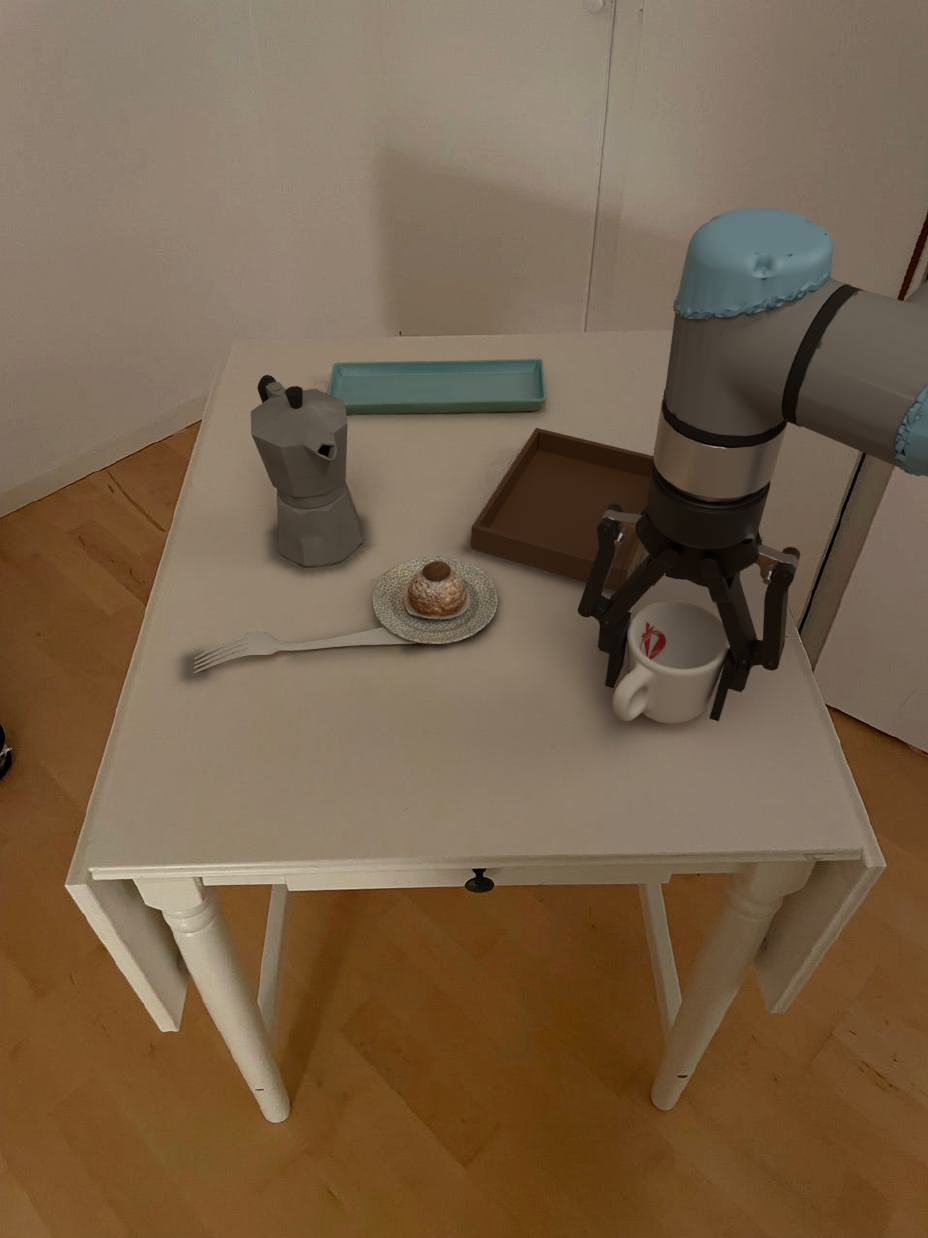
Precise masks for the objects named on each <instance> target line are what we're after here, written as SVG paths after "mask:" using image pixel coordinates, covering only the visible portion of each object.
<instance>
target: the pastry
mask: <svg viewBox="0 0 928 1238" xmlns="http://www.w3.org/2000/svg"><path fill="white" fill-rule="evenodd" d="M371 600H372V601H371V602H372V603H371V604H372V608H373V611H374V614H375V617H376V618H377V620H378V622H380V624H382V627H385V628H386V629H388V630H389V631H391V632H392V633H394V634H396V635H398V636H400V637H402V638H405V639H406V640H407V641H409V642H413V641H414V642H418V644H430V645H441V644H442V645H443V644H450V643H454V642H460V641H463V640H465V639H467V638H470V637H472V636H474V635H476V634H477V633H478V632H480V631H481V630H482V629H484V628H485V627H486V626H487V625H489V623H490V622H491V621H492V619H493V618H494V616H495V614H496V612H497V609H498V603H499V601H498V600H499V598H498V592H497V589H496V586H495V585H494V583H493V581H492V579H491V578H490V577H489V575H488V574H487V573H486V572H484V571H483V570H482V569H481V568H479V567H477V566H476V565H474V564H472V563H469V562H466V561H464V560H462V559H458V558H454V557H446V556H440V555H439V556H438V555H432V556H431V555H430V556H421V557H417V558H413V559H410V560H408V561H405V562H402V563H398V564H397V565H395V566H394V567H393V568H391V569H390V570H389V571H387V572H385V573H384V574H383V575H382V576H381V577H380V579H378V580H377V583H376V584H375V586H374V588H373V592H372V599H371Z"/></svg>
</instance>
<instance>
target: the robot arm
mask: <svg viewBox="0 0 928 1238" xmlns="http://www.w3.org/2000/svg"><path fill="white" fill-rule="evenodd" d="M834 247H835V245H834V242H833V239H832V236H831V234H830V232H828V230H827V229H826V228H825V227H824V226H822V225H821V224H817V223H812V219H809V217H808V216H806V215H803V214H800V213H797V212H794V211H790V210H785V209H778V208H769V207H749V208H747V207H746V208H740V209H733V210H729V211H726V212H722V213H720V214H718V215H715V216H713V217H712V218H711V219H710V220H709V221H708V222H705V223H703V224H701V225H700V226H699V227H698V228H696V231H695V232H694V233H693V235H692V236H691V238H690V241H689V242H688V246H687V249H686V255H685V260H684V263H683V267H682V268H683V269H682V274H681V278H680V283H679V287H678V290H677V295H676V296H675V299H674V300H673V307H672V308H673V312H674V320H673V327H672V335H671V343H670V350H669V357H668V364H667V373H666V381H665V388H664V390H663V397H662V400H661V403H660V409H659V417H658V424H657V428H656V436H655V443H654V449H653V456H654V463H653V465H652V470H651V477H650V483H649V490H648V496H647V503H646V508H645V509H644V510H643V511H642V512H641V514H631V513H623V508H622V507H621V506H620V505H618V504H615V503H613V504H610V505H609V506H608V507H607V509H606V511H605V513H604V515H603V517H602V519H601V521H600V523H599V524H598V526H597V536H598V544H599V549H598V552H597V555H596V558H595V561H594V564H593V566H592V569H591V572H590V575H589V578H588V581H587V582H586V583H585V587H584V589H583V592H582V595H581V598H580V601H579V603H578V606H577V613H578V615H579V616H580V617H582V618H586V619H587V618H591V617H592V618H594V619H595V620H596V621H597V622H598V624H599V630H598V639H597V649H598V651H599V652H602V653H606V654H608V660H607V668H606V674H605V682H604V687H606V688H609V689H613V690H614V689H615V687H616V684H617V682H618V680H619V677H620V675H621V673H622V669H623V668H624V666H625V665H624V664H625V658H626V652H627V630H628V626H629V623H630V621H631V620H632V611H631V612H630V610H632V608H633V607H634V606H635V605H636V604H637V603H638V602H639V601H640V599H642V597H643V596H644V595H645V594H646V593H647V592H648V591H649V590H650V589H651V587H654V586H656V584H657V583H658V582H659V581H660V580H661V579H662V578H663V577H666V578H670V579H674V580H683V581H688V582H690V583H692V584H695V585H696V586H700V587H702V588H703V587H704V588H707V590H708V593H709V596H710V600H711V603H715V605H716V607H717V611H718V614H719V618H720V619H721V620H722V623H723V627H724V630H725V633H726V636H727V639H728V642H729V645H730V648H729V651H728V654H727V657H726V660H725V663H724V666H723V668H722V671H721V673H720V677H719V681H718V684H717V689H716V692H715V695H714V700H713V703H712V704H713V705H712V707H711V710H710V715H709V720H712V721H716V722H719V721H720V719H721V716H722V712H723V709H724V706H725V702H726V699H727V696H728V692H729V690H731V691H734V692H737V693H742V692H743V691H744V690H745V688H746V685H747V683H748V679H749V676H750V673H751V671H752V670H751V669H752V668H753V667H756V666H761V667H762V668H764V669H765V670H767V671H772V672H773V671H776V670H778V668H779V665H780V662H781V659H782V655H783V652H784V648H785V644H786V631H787V617H788V603H789V601H788V600H789V589H790V586H791V585H792V583H793V582H794V579H795V576H796V572H797V570H798V565H799V562H800V559H801V558H800V557H801V552H800V550H799V549H798V548H796V547H794V546H787V547H785V548H783V549H782V550H781V551H780V550H777V549H774V548H772V547H770V546H767V545H765V544H763V540H762V536H761V534H760V525H761V522H762V518H763V514H764V510H765V506H766V503H767V499H768V496H769V492H770V488H771V481H772V478H773V475H774V473H775V469H776V466H777V462H778V458H779V455H780V452H781V447H782V444H783V441H784V437H785V433H786V430H787V426H788V423H790V424H792V425H794V426H796V427H798V428H799V427H800V428H801V427H802V428H804V429H807V430H810V431H812V432H814V433H816V434H819V435H820V436H821V435H822V436H824V437H826V438H829V439H831V440H834V441H835V442H838V443H840V444H842V445H844V446H847V447H850V448H852V449H855V450H857V451H859V452H862V453H863V454H866V455H869V456H871V457H873V458H875V459H877V460H880V461H882V462H885V463H887V464H889V465H892V466H895V467H897V468H898V469H900V470H901V471H903V472H904V473H905V474H907V475H914V476H916V477H920V476H924V477H927V478H928V278H927V279H926V280H925V281H924V282H922V284H921V285H920V286H918V288H916V289H915V291H913V292H912V293H911V294H910V295H909V296H908V297H907V298H906V299H905V300H904V301H903V300H900V299H896V298H893V297H890V296H887V295H884V294H880V293H876V292H873V291H870V290H866V289H862V288H859V287H856V286H853V285H851V284H850V283H847V282H843V281H840V280H838V279H837V280H836V279H835V278H833V277H831V276H832V274H833V268H834V264H833V257H834V250H835V248H834ZM633 533H636V534H637V536H638V538H639V539H640V541H641V542H642V544H643V545H644V547H645V548H644V550H646V552H647V553H648V554H647V555H646V556H645V557H644V558H643V560H642V561H641V562H640V563H639V565H638V566H636V568H635V570H634V572H633V573H632V574H631V575H630V576H629V577H628V579H627V580H626V581H625V582H624V583H623V584H622V585H621V587H620V588H619V589H618V590H617V591H616V590H615V592H614V593H611V595H610V597H609V598H608V597H607V596H604V595H603V592H604V589H605V588H606V587H605V584H606V582H607V579H608V576H609V574H610V571H611V568H612V566H613V563H614V560H615V558H616V555H617V552H618V550H619V547H620V545H621V544H622V543H625V542H627V541H628V539H629V537H630V535H631V534H633ZM754 564H756V565H757V566H758V567H759V569H760V573H759V575H760V577H761V579H762V583H763V584H764V585H766V586H767V588H766V591H765V593H764V601H763V603H764V604H763V620H762V621H763V623H762V639H760V640H759V639H758V635H757V632H756V629H755V625H754V621H753V619H752V615H751V612H750V609H749V605H748V602H747V601H748V600H747V598H746V595H745V592H744V587H743V584H742V582H741V572H743V571H744V570H746V569H748V568H749V567H751V566H753V565H754Z"/></svg>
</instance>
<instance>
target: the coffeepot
mask: <svg viewBox="0 0 928 1238" xmlns="http://www.w3.org/2000/svg"><path fill="white" fill-rule="evenodd" d="M256 388H257V391H258V394H259V398H260V400H261V403H260V404H259V405H257V406H256V407H254V408H253V409H251V410H250V435H251V437H252V439H253V442H254V444H255V446H256V449H257V451H258V454H259V456H260V458H261V462H262V463H263V466H264V469H265V471H266V473H267V475H268V478H269V480H270V483H271V486H272V487H273V488H275V489H276V512H277V513H276V514H277V523H276V524H277V544H278V545H277V546H278V554H280V555H282V556H283V557H284V558H286V559H288V560H289V561H290V562H292V563H295V564H297V565H299V566H300V565H301V566H303V567H312V568H316V567H317V568H318V567H326V566H330V565H331V566H332V565H334V564H337V563H340V562H342V561H344V560H346V559H347V558H349V557H350V556H351V555H353V553H354V552H355V551H356V550H357V549H358V547H359V546H360V545H361V544H362V543H363V535H362V528H361V520H360V518H359V517H360V516H359V514H358V511H357V509H356V506H355V503H354V501H353V500H354V499H353V498H352V495H351V492H350V489H349V487H348V486H349V485H348V483H347V481H346V477H347V456H348V455H347V452H348V425H349V423H348V416H347V415H348V414H346V409H345V403H344V401H343V400H341V399H339V398H336V397H334V396H331V395H329V394H328V392H324V391H322V390H319V389H318V388H309V389H304V388H303V387H301V386H299V385H296V386H295V385H292V386H289V387H288V388H285V386H284V385H283V384H282V383H281V382H280V381H277V380H276V378H275V377H274V376H272V375H270V374H265V375H262V377H260V379H259V382H258V384H257V387H256Z"/></svg>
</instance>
